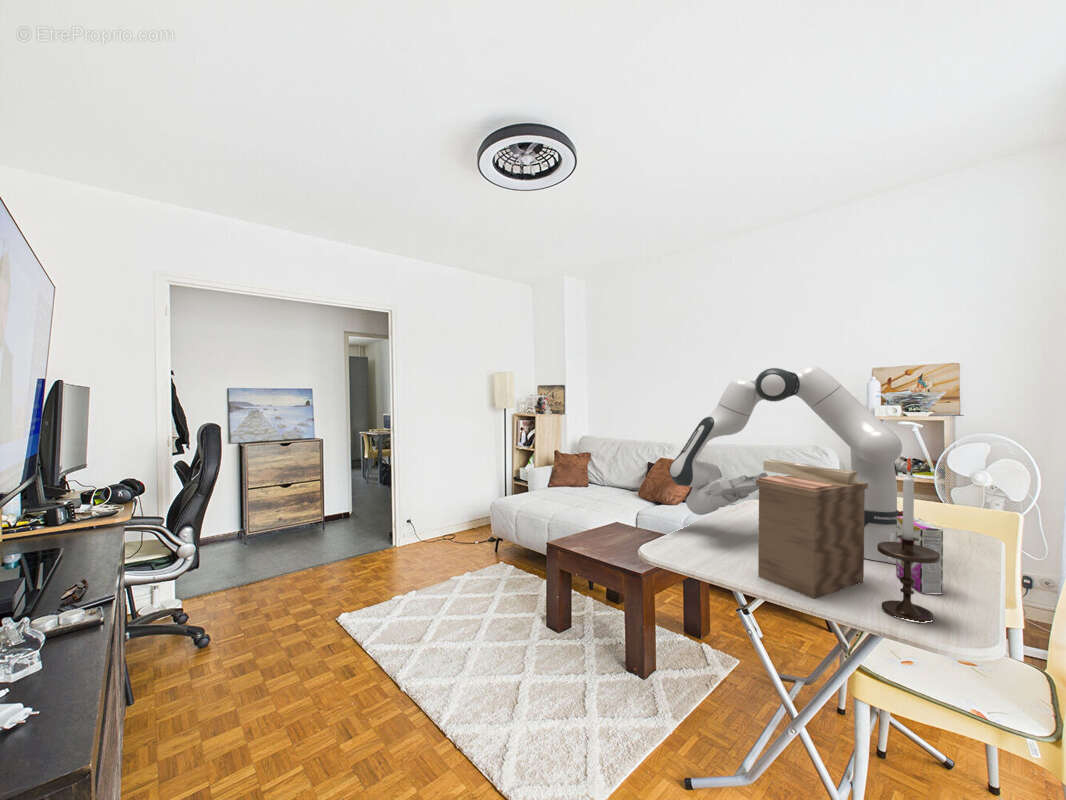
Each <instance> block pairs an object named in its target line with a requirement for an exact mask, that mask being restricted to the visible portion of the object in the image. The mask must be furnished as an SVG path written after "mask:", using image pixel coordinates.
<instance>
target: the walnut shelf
mask: <svg viewBox="0 0 1066 800" xmlns="http://www.w3.org/2000/svg"><path fill="white" fill-rule="evenodd" d="M756 486H759V489H758V550H757V551H758V555H757V556H758V559H757V560H758V561H757V562H758V564H757V565H758V570H757V572H758V573H757V574H758V576H757V577H758V578H761V579H764V580H766V581H769V582H771V583H773V582H774V584H777V585H778V584H779V586H781V585H782V586H781V587H783V586H784V588H786V587H787V588H786V589H788V588H789V589H788V590H791V589H792V590H791V591H793V590H794V591H793V592H795V593H798V592H799V594H801V595H803V594H804V596H806V597H808V596H809V597H808V598H810V597H811V599H814V600H815V599H817V598H820V597H823V596H826V595H830V594H832V593H835V592H838V591H841V589H842V590H845V589H847V587H848V588H850V586H851V587H853V585H854V586H857V585H860V584H862V583H864V582H865V581H864V579H865V578H864V577H865V576H864V575H865V573H864V570H865V566H864V565H865V563H864V562H865V558H864V504H865V489H868V483H865V482H859V481H857V483H856V484H850V485H846V484H840V483H834V482H828V481H822V480H817V479H811V478H805V477H799V476H793V475H777V474H776V475H771V476H769V475H768V477H761V478H759V480H756ZM859 583H860V584H859ZM856 584H857V585H856ZM844 588H845V589H844Z"/></svg>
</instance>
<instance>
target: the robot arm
mask: <svg viewBox="0 0 1066 800" xmlns="http://www.w3.org/2000/svg"><path fill="white" fill-rule="evenodd" d="M792 396H793V397H794V396H796V397H798V398H799V399H801V400H802V401H803V402H804V403H805V404H806V405H807V406H808V407H809V408H810V409H811V410H812V412H814V413H815V414H816V415H817V416H818V417H819V418H820V419H821V420H822V421H823V422H824V423H825V424H826V425H827V426H828V427H829V428H830V429H831V430H832V431H833V432H834V433H835V434H836V435H837V436H838V437H839V438H841V440H842V441H843V442H844V443H845V444H847V446H848V447H849V448H850V465H851V467H850V469H851V471H855V472H857V481H859V482H865V483H868V489H865V504H864V559H867V560H872V561H876V562H882V563H883V562H884V563H889V564H894V565H896V558H892V557H889V556H886V555H884V554H882V553H880V552H879V551H878V549H877V548H878V543H881V542H896V538H897V537H896V531H897V530H896V526H897V518H896V517H897V516H903V510H901V511H899V510H898V481H897V476H896V475H897V474H896V468H895V462H896V461H898V459H899V458H900V457H901V455H902V453H903V443H902V440H901V439H900V438H899V436H898V435H897V434H896V433H895V432H894V431H893V430H892V429H890V427H889V426H887V425H886V424H885V423H884V422H883V421H882V420H880V419H879V418H878V417H877V416H876V415H875V414H874V413H873V412H872V411H870V410H869V408H867V407H866V406H865V405H863V404H862V402H860V401H859V400H858V399H857V398H856V397H855V396H854V395H852V393H851V392H850V391H849V390H848V389H847V388H845V387H844V386H843V384H842V383H840V382H839V380H837V379H835V378H834V377H833V376H832V375H831V374H829V373H828V372H826V371H825V370H823V369H822V368H821V367H819V366H817V365H807V366H804V367H802V368H800V369H799V370H798V371H796V372H793V371H792V372H791V371H789V370H786V369H784V368H779V367H769V368H767V369H764V370H762V371H761V372H760V373H759V374H758V376H757V377H756V378H755V379H748V378H744V377H739V378H738V377H737V378H735V379H732V380H731V382H730V383H729V384H728V385H727V387H726V388H725V390H724V391H723V393H722V395H721V398H719V401H718V404H717V406H716V407H715V409H714V410H713V411H712V413H710V414H709V415H708V416H707V417H705V418H703V419H702V420H700V422H698V424H697V426H696V427H695V429H694V431H693V432H692V433H691V435H690V437H689V439H688V440H687V442H686V443H685V445H684V447H683V448H682V450H681V451H680V452H679V454H678V455H677V456H676V457H675V458H674V459H673V461H672V462H671V464H670V466H669V475H670V477H671V480H672V481H673V482H674V483H675V485H677V486H681V487H689V488H690V487H691V491H690V493H689V495H688V496H687V497H686V499H685V504H686V506H687V508H688V509H689V511H690V512H692V513H693V514H694V515H697V516H703V515H704V516H705V515H707V514H711V513H713V512H716V511H718V510H719V509H720V508H725V507H727V506H729V505H732V504H734V503H736V502H738V501H739V500H743V499H746V498H747V497H749V496H750V494H753V493H754V492H756V491H759V486H756V480H759V478H761V477H769V474H768V472H762V473H759V474H752V475H745V474H744V475H740V476H738V477H737V476H736V477H731V478H729V477H722V473H721V470H720V469H719V467H718V466H717V465H716V464H713V463H710V462H705V461H700V460H697V459H698V458H699V456H700V454H701V453H702V452H703V449H704V448H705V447H706V445H707V444H708V443H709V441H711V440H714V439H715V438H718V437H719V438H720V437H722V436H723V437H724V436H732V435H735V434H737V433H739V432H742V430H744V428H745V427H746V425H747V424H748V422H749V420H750V418H751V416H752V414H753V411H754V408H755V407H756V405H758V403H760V402H761V401H763V400H764V401H767V402H780V401H783V400H784V401H785V400H786V399H787V398H789V397H792Z"/></svg>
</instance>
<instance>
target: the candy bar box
mask: <svg viewBox="0 0 1066 800" xmlns="http://www.w3.org/2000/svg"><path fill="white" fill-rule="evenodd" d="M896 518H897V526H896V530H897V531H896V537H897V536H898V535H903V516H897V517H896ZM913 537H915V538H918V539H919V541H914V545H918V546H922V547H926V548H929V549H932V550H934V551H936V552H938V553H939V554H940V561H939V562H936V563H917V562H911V578H913V579H914V580H915V584H914V585H913V586H912V589H914V588H915V591H917V590H918V591H917V592H919V593H920V592H921V593H920V594H922V593H942V594H943V585H944V584H943V583H944V582H943V575H944V574H943V572H944V571H943V570H944V569H943V563H944V562H943V561H944V560H943V559H944V558H943V557H944V556H943V555H944V553H943V552H944V542H943V541H944V529H942V528H941V527H938V526H936V525H934V524H931V523H929V522H928V521H925V520H923V519H921V518H919V517H917V516H914V521H913ZM896 542H901V543H902V539H900V538H898V537H897V538H896ZM895 565H896V569H895V570H896V571H895V573H896V574H895V576H896V577H897V578H898V579H899V578H900V577H902V576H904V561H902V560H899V559H896V564H895Z"/></svg>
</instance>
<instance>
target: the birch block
mask: <svg viewBox="0 0 1066 800" xmlns="http://www.w3.org/2000/svg"><path fill="white" fill-rule="evenodd" d="M762 467H763V468H762V470H763V471H764V472H770V473H777V474H781V475H782V474H783V475H786V476H790V475H793V476H799V477H805V478H811V479H817V480H822V481H828V482H834V483H840V484H846V485H850V484H856V483H857V472H855V471H852V470H848V469H847V470H846V469H841V468H835V467H830V466H823V465H822V466H821V465H816V464H809V463H798V462H793V461H792V462H791V461H783V460H777V459H764V460H763V466H762Z"/></svg>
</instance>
